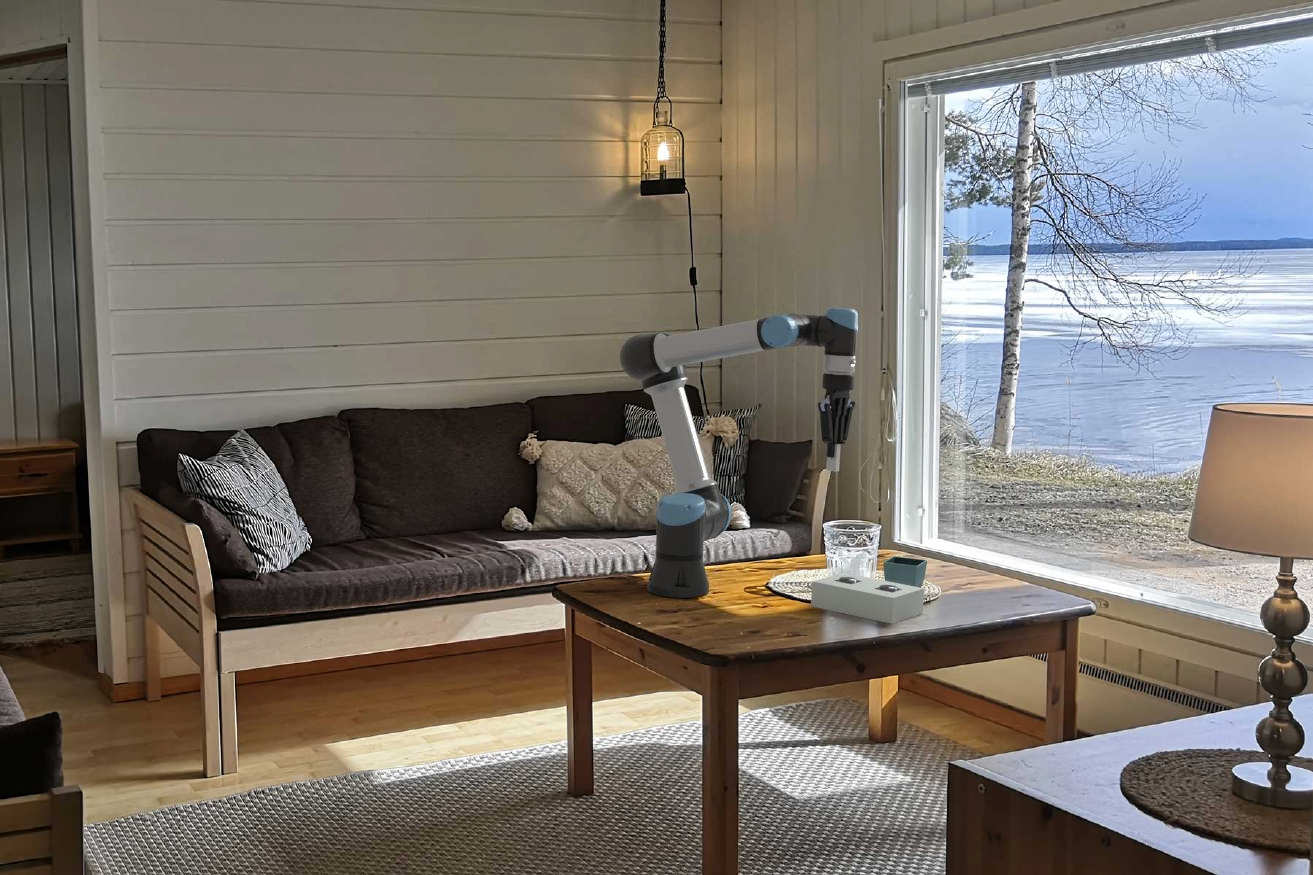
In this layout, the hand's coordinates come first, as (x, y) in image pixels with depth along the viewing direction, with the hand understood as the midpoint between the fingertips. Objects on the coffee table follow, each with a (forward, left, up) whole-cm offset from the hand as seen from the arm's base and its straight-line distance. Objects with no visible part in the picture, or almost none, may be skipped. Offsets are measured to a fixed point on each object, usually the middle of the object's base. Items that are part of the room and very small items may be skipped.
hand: (832, 470), depth 314 cm
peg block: (+13, -3, -32) cm, 34 cm away
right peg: (+18, -3, -31) cm, 36 cm away
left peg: (+7, -3, -31) cm, 32 cm away
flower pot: (+12, +16, -32) cm, 38 cm away
